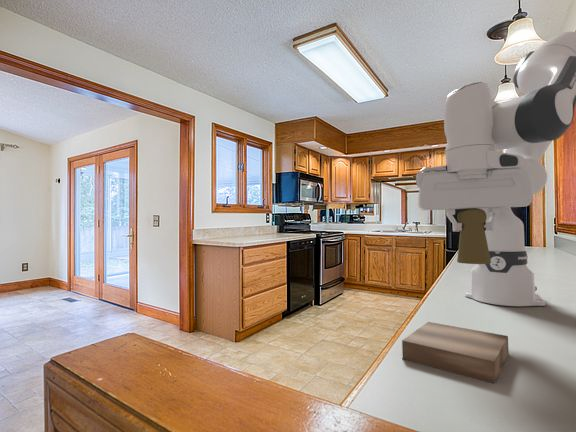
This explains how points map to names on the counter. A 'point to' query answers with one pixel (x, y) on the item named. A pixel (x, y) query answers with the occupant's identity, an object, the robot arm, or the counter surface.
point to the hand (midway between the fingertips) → (472, 231)
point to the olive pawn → (473, 237)
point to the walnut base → (457, 350)
